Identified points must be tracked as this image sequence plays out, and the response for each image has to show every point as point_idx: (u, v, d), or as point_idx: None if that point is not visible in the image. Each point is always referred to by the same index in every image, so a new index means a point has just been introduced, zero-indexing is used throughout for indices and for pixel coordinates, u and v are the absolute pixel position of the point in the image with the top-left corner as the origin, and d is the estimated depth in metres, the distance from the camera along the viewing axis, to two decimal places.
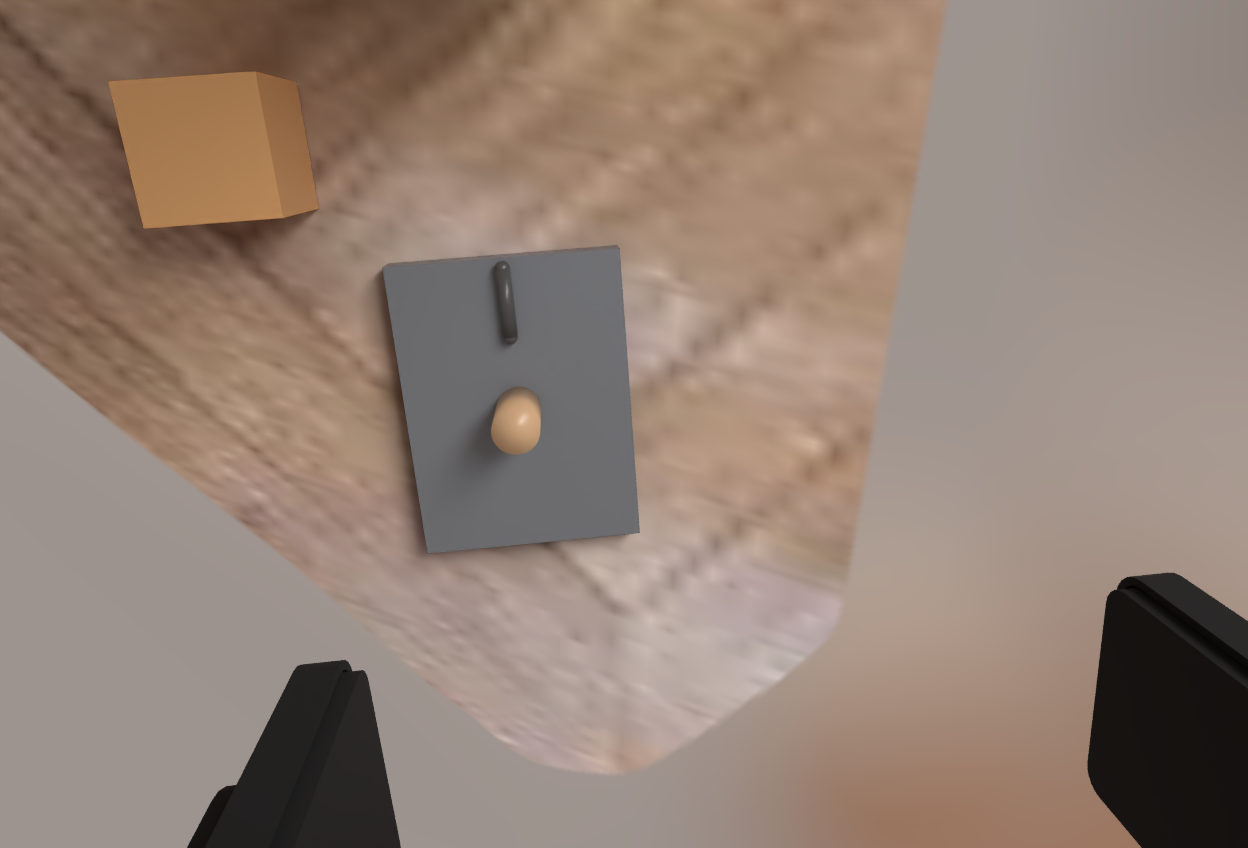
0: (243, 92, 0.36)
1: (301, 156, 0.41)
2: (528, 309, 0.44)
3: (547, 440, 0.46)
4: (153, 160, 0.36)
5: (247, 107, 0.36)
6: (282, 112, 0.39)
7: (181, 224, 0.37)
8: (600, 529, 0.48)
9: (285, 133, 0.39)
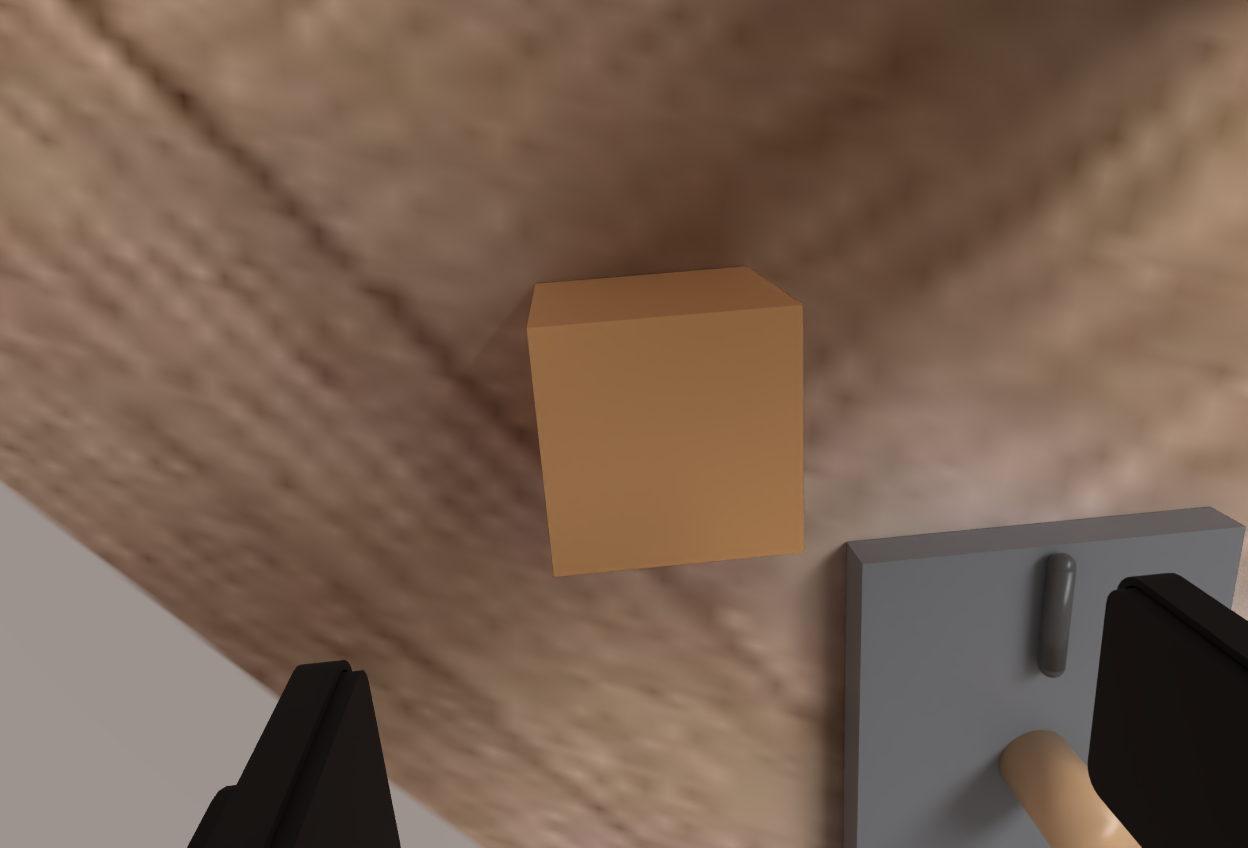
0: (773, 342, 0.19)
1: None
2: (1081, 619, 0.27)
3: None
4: (589, 463, 0.19)
5: (776, 368, 0.19)
6: None
7: (622, 568, 0.20)
8: None
9: None
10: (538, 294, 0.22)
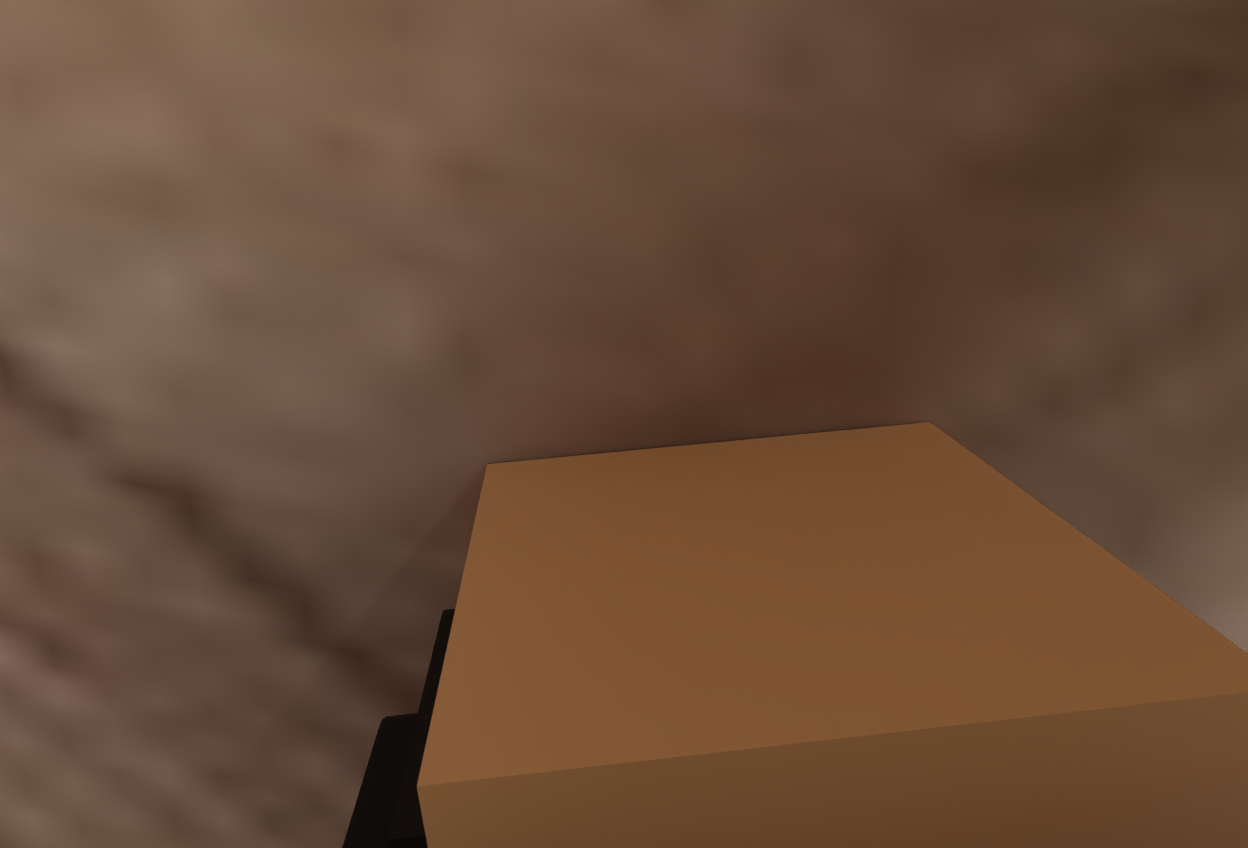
0: (1188, 791, 0.06)
1: None
2: None
3: None
4: None
5: None
6: None
7: None
8: None
9: None
10: (487, 519, 0.10)
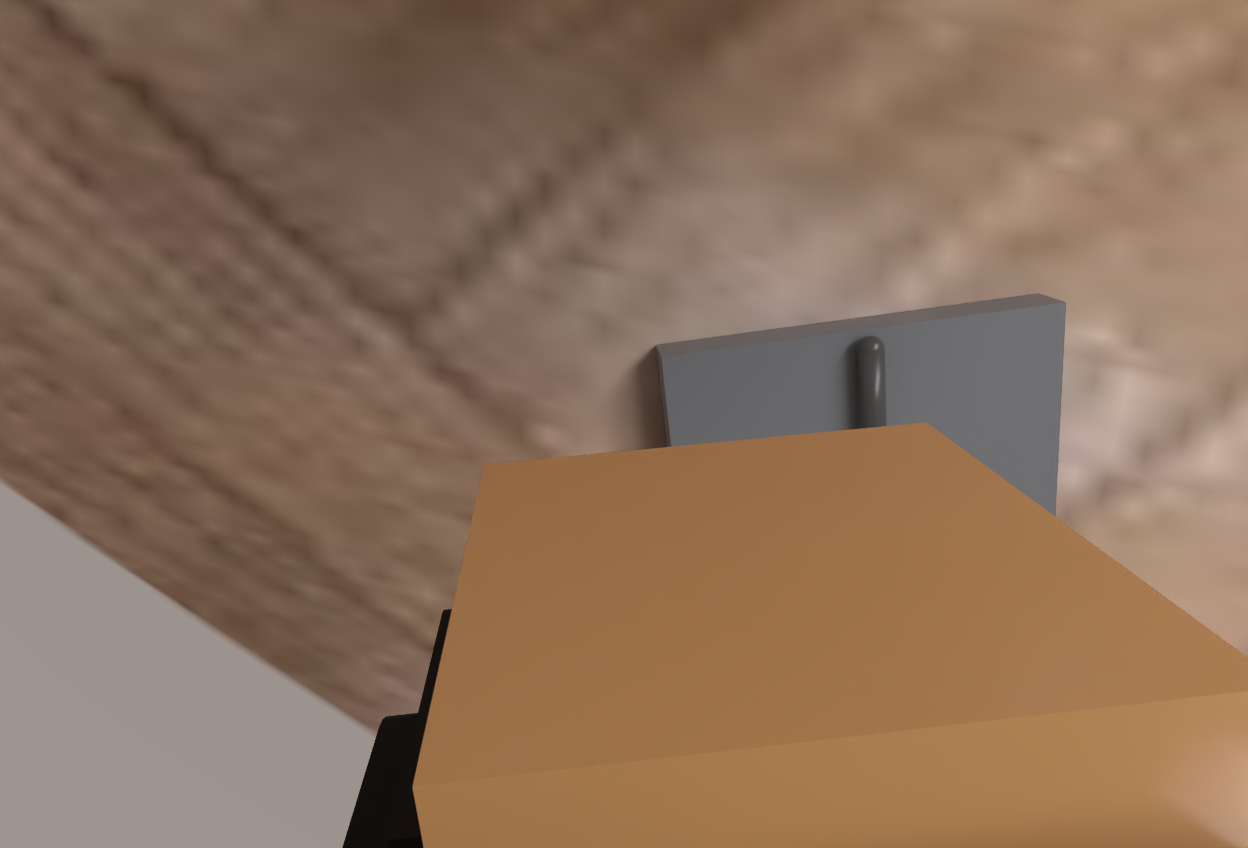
0: (1181, 788, 0.06)
1: None
2: (902, 412, 0.26)
3: None
4: None
5: None
6: None
7: None
8: None
9: None
10: (484, 520, 0.10)
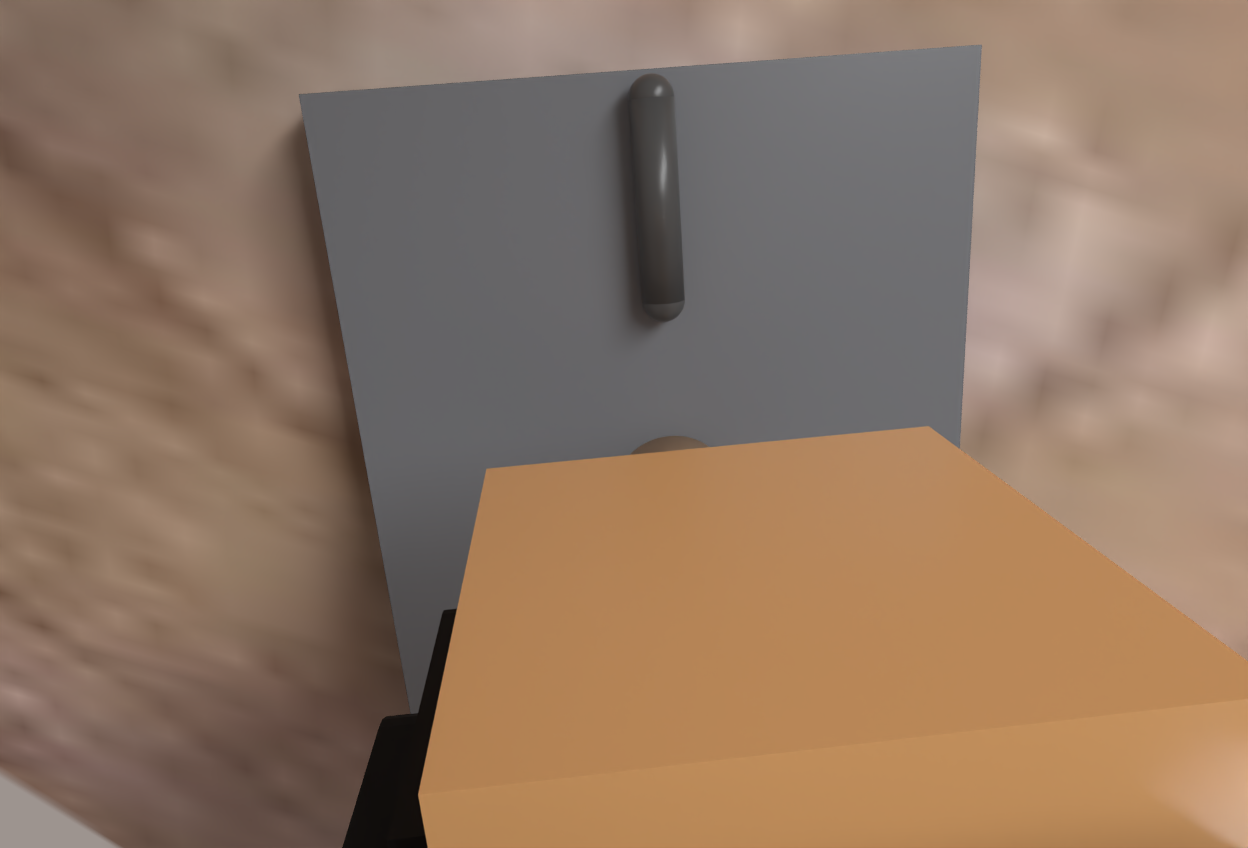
0: (1186, 796, 0.06)
1: None
2: (714, 222, 0.16)
3: None
4: None
5: None
6: None
7: None
8: None
9: None
10: (487, 525, 0.10)
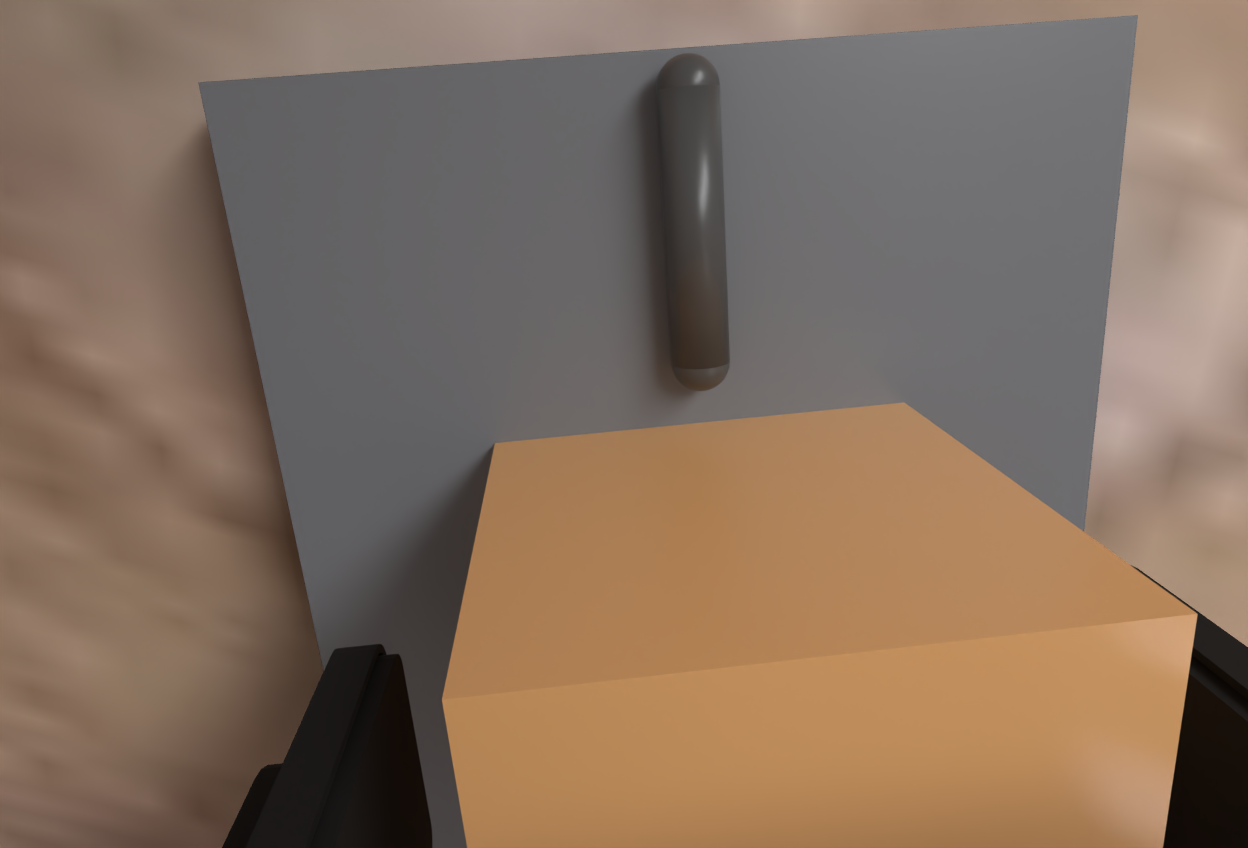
0: (1108, 706, 0.07)
1: None
2: (769, 257, 0.12)
3: None
4: None
5: (1108, 766, 0.07)
6: None
7: None
8: None
9: None
10: (496, 490, 0.10)
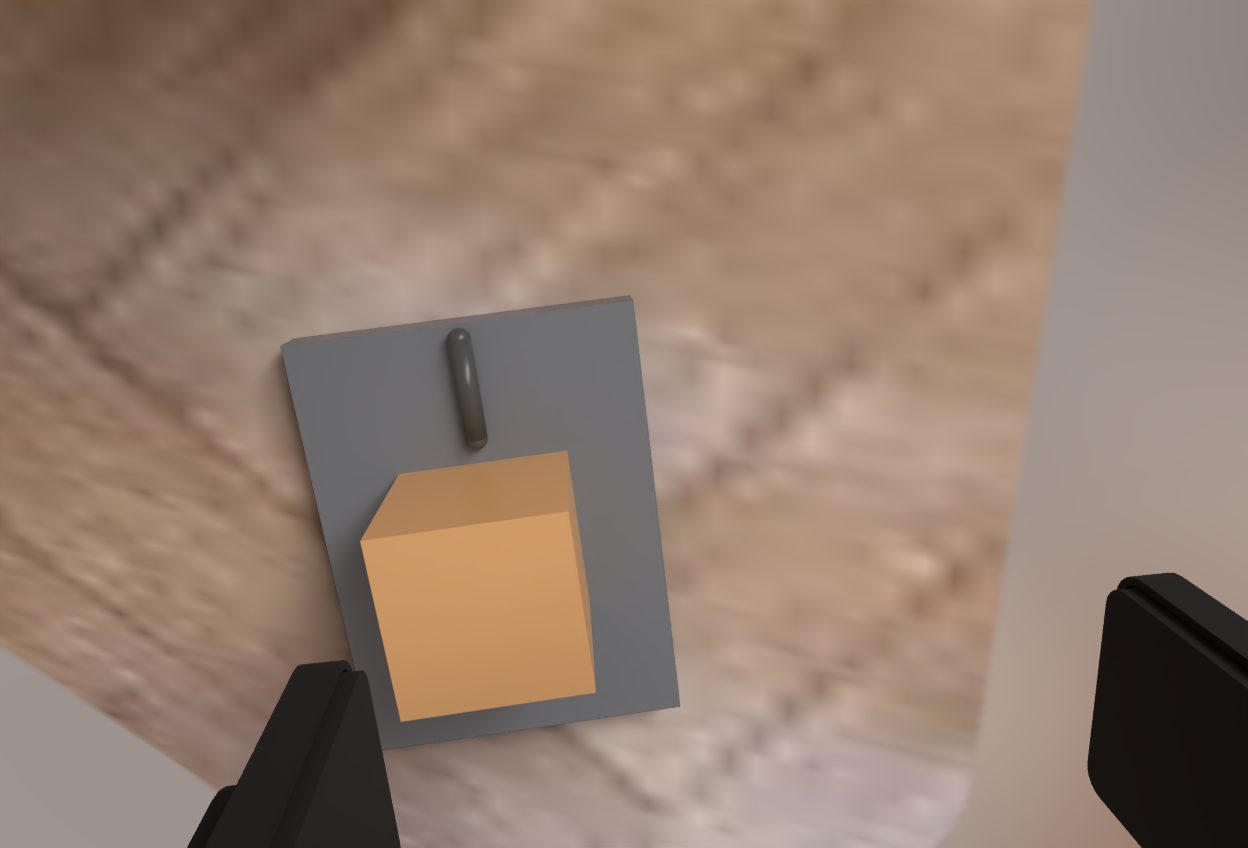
0: (550, 539, 0.25)
1: (581, 555, 0.30)
2: (502, 396, 0.30)
3: None
4: (419, 635, 0.25)
5: (554, 558, 0.25)
6: (574, 524, 0.28)
7: (454, 712, 0.26)
8: (623, 704, 0.33)
9: (578, 551, 0.28)
10: (393, 491, 0.28)
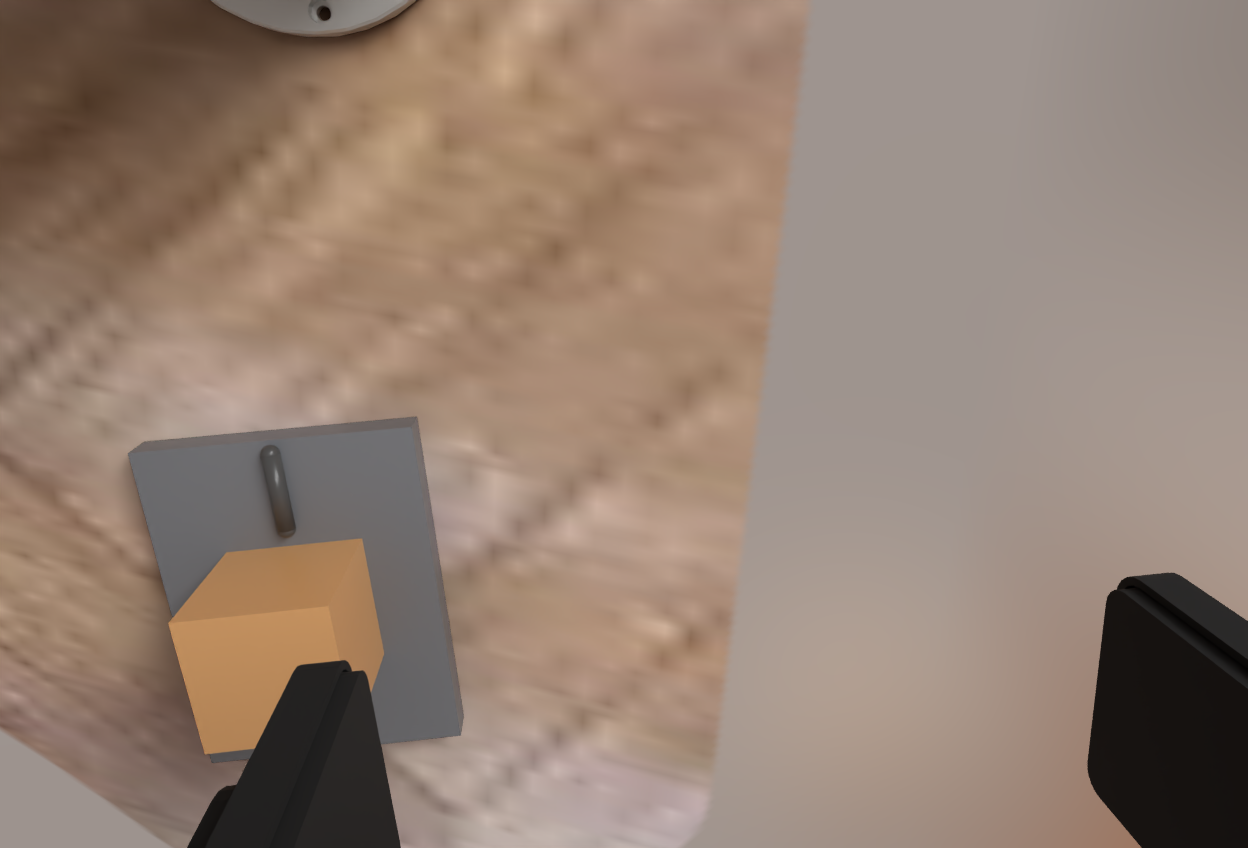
0: (315, 626, 0.33)
1: (368, 622, 0.38)
2: (308, 495, 0.37)
3: None
4: (216, 692, 0.33)
5: (319, 639, 0.33)
6: (351, 604, 0.36)
7: (246, 748, 0.34)
8: (414, 732, 0.42)
9: (355, 624, 0.36)
10: (214, 571, 0.36)
